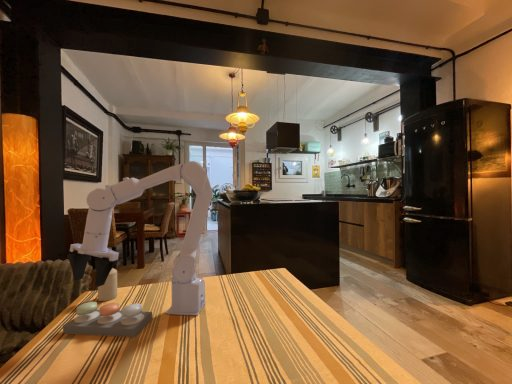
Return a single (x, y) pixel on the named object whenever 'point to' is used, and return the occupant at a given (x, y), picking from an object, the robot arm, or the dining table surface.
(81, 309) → the green button
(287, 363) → the dining table surface
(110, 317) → the button board
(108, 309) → the terracotta button
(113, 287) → the candle
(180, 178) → the robot arm
